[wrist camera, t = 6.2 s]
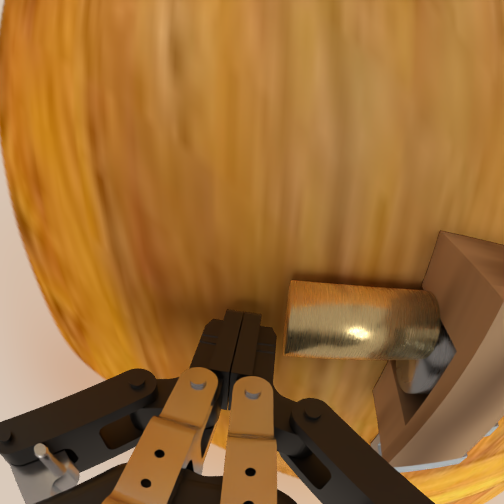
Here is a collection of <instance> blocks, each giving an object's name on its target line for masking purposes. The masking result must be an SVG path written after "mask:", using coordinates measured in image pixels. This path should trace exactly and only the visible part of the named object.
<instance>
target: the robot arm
mask: <svg viewBox="0 0 504 504" xmlns="http://www.w3.org/2000/svg"><path fill="white" fill-rule="evenodd" d="M261 315H262V314H256V313H249V312H245V313H244V312H242V311H235V310H229V309H227V311H226V314H225V317H224V320H217V319H213V320H211V321H210V322H209V323H208V324H207V325H206V326H205V329H204V331H203V334H202V336H201V339H200V343H199V344H198V347H197V350H196V352H195V355H194V357H193V360H192V363H191V365H190V368H189V369H187V370H185V371H184V372H183V373H182V374H181V375H180V377H177V378H173V379H156V378H155V376H154V375H153V374H152V373H151V372H149V371H147V370H145V369H131V370H129V371H126V372H124V373H122V374H119V375H117V376H115V377H113V378H110V379H108V380H106V381H103V382H101V383H99V384H97V385H94V386H92V387H90V388H87V389H85V390H82V391H80V392H77V393H75V394H73V395H70V396H68V397H65V398H63V399H60V400H58V401H55V402H53V403H50V404H48V405H45V406H43V407H40V408H38V409H35V410H32V411H30V412H27V413H24V414H22V415H19V416H16V417H13V418H11V419H8V420H5V421H2V422H0V454H1V455H2V456H3V457H4V459H5V460H6V461H7V462H8V463H9V464H10V466H11V469H12V472H13V474H14V477H15V479H16V482H17V484H18V487H19V489H20V492H21V494H22V496H23V498H24V501H25V503H26V504H297V503H296V502H295V501H294V500H293V499H292V498H290V497H289V496H288V495H286V494H285V493H283V492H282V491H280V490H278V489H277V451H279V453H280V455H281V457H282V458H283V459H284V461H285V462H286V463H287V464H288V465H289V467H290V468H291V469H292V470H293V471H294V472H295V474H296V475H297V476H298V477H299V478H300V479H301V480H302V482H303V483H304V484H305V485H306V486H307V487H308V488H309V489H310V490H311V492H312V493H313V494H314V495H315V496H316V497H317V498H318V499H319V500H320V501H321V503H323V504H435V503H434V502H432V501H431V500H430V499H429V498H428V497H427V496H425V495H424V494H423V493H422V492H421V491H420V490H418V489H417V488H416V487H415V486H414V485H413V484H411V483H410V482H409V481H408V480H407V479H406V478H405V477H404V476H402V475H401V474H400V473H399V472H398V471H397V470H396V469H395V468H393V467H392V466H391V465H390V464H389V463H388V462H387V461H386V460H385V459H384V458H383V457H381V456H380V455H379V454H378V453H377V452H376V451H375V450H374V449H373V448H372V447H371V446H370V445H369V444H367V443H366V442H365V441H364V440H363V439H362V438H361V437H360V436H359V435H358V434H357V433H356V432H355V431H354V430H353V429H352V428H351V427H350V426H349V425H348V424H347V423H346V422H344V421H343V420H342V419H341V418H340V417H339V416H338V415H337V414H336V413H335V412H334V411H333V410H332V409H331V408H330V407H329V406H328V405H327V404H326V403H325V402H323V401H321V400H319V399H314V398H306V399H302V400H300V401H298V402H295V401H292V400H290V399H287V398H285V397H283V396H282V395H280V394H279V393H278V392H277V391H276V389H275V388H274V385H273V373H274V361H275V349H276V337H277V336H276V334H275V332H274V330H273V328H272V327H264V326H260V322H261ZM228 402H229V405H228ZM227 407H228V410H231V412H230V421H229V430H228V437H227V446H226V455H225V465H224V474H223V476H202V475H201V474H202V469H203V463H204V460H205V457H206V455H207V452H208V449H209V446H210V443H211V440H212V437H213V434H214V432H215V429H216V426H217V421H218V418H219V414H220V410H221V409H224V410H227ZM135 446H136V447H135ZM133 447H135V449H134V452H133V453H132V455H131V457H130V459H129V461H128V463H124V464H120V465H117V466H115V467H113V468H111V469H109V470H107V471H105V472H104V473H101V474H99V475H97V476H95V477H93V478H91V479H89V480H87V481H85V482H83V483H81V484H79V485H77V483H78V481H79V473H80V472H82V471H85V470H87V469H89V468H91V467H94V466H96V465H98V464H100V463H103V462H105V461H107V460H109V459H111V458H113V457H115V456H117V455H119V454H122V453H123V452H126V451H128V450H130V449H131V448H133Z"/></svg>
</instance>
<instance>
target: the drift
mask: <svg viewBox="0 0 504 504" xmlns="http://www.w3.org/2000/svg"><path fill="white" fill-rule="evenodd" d="M440 321H441V319H440V309H439V305H438V301H437V299H436V297H435V296H434V294H433V293H432V292H430V291H427V290H412V289H397V288H383V287H369V286H356V285H344V284H331V283H320V282H308V281H297V280H291V282H290V286H289V292H288V300H287V308H286V317H285V327H284V341H283V355H284V356H294V357H308V358H326V359H351V360H419V359H425V358H427V357H428V356H429V355H430V354H431V353H432V351H433V350H434V348H435V346H436V343H437V340H438V337H439V332H440Z"/></svg>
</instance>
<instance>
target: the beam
mask: <svg viewBox="0 0 504 504" xmlns="http://www.w3.org/2000/svg"><path fill="white" fill-rule="evenodd" d="M422 287H423V289H424V290H427V291H430V292H432V293H433V294H434V296H435V297H436V299H437V301H438V305H439V309H440V319H441V321H442V323H443V325H444V327H445V329H446V331H447V333H448V335H449V336H450V338H451V340H452V342H453V344H454V346H455V349H456V351H457V352H456V354H455V355H454V357H453V359H452V360H451V362H450V364H449V365H448V367H447V368H446V370H445V372H444V373H443V375H442V376H441V378H440V379H439V381H438V382H437V384H436V385H435V387H434V388H433V390H432V391H431V392H430V394H409V393H405V392H404V391H403V390H402V389H401V387H400V385H399V383H398V380H397V374H396V360H389V361H388V363H387V365H386V367H385V369H384V370H383V372H382V374H381V376H380V378H379V380H378V382H377V384H376V385H375V387H374V389H373V395H374V402H375V408H376V414H377V421H378V428H379V436H380V444H381V452H382V457H383V458H384V459H385V460H386V461H387V462H388V463H389V464H390V465H391V466H392V467H404V466H414V465H422V464H429V463H436V462H442V461H448V460H453V459H458V458H462V457H463V456H464V455H465V454H466V453H467V452H468V451H469V450H470V449H472V448H473V447H474V446H475V445H476V444H477V443H478V442H479V441H480V440H481V439H482V438H483V437H484V436H485V435H486V434H487V433H488V432H489V431H490V430H491V429H492V428H493V427H494V426H495V424H496V423H497V422H498V421H499V420H500V419H501V418H502V417H503V416H504V245H501V244H497V243H492V242H488V241H484V240H480V239H476V238H471V237H467V236H462V235H458V234H453V233H449V232H444V231H440V233H439V236H438V240H437V243H436V246H435V249H434V252H433V255H432V258H431V261H430V264H429V267H428V270H427V272H426V275H425V278H424V281H423V283H422Z"/></svg>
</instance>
